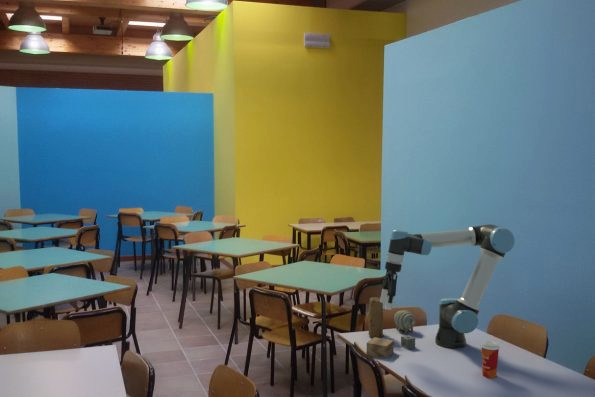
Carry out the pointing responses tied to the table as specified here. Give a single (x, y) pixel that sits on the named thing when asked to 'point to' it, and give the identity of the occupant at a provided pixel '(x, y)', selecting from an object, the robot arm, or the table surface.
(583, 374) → the table surface
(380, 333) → the brown oblong lump
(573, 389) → the table surface
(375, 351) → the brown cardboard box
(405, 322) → the cream beehive honey pot
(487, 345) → the paper cup
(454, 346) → the robot arm
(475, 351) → the table surface
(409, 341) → the dice cube
